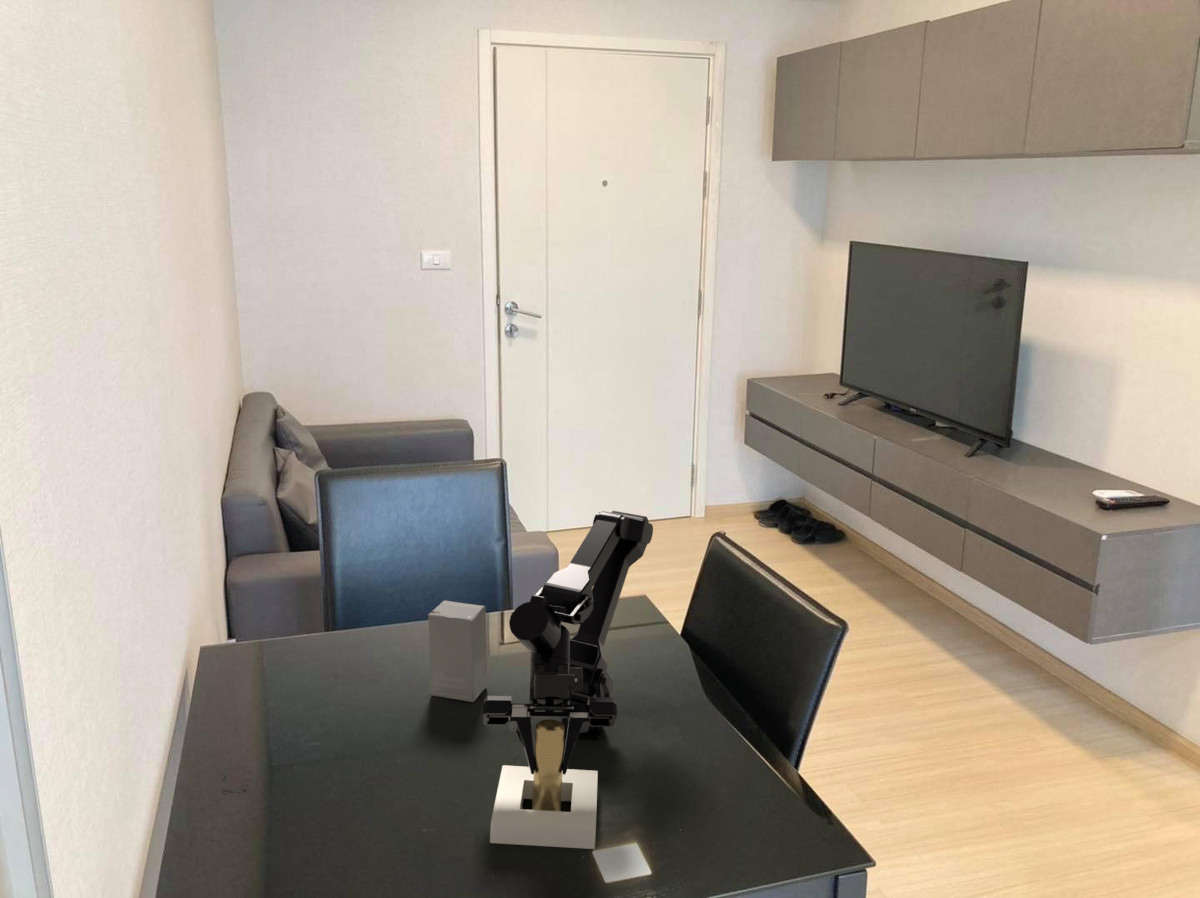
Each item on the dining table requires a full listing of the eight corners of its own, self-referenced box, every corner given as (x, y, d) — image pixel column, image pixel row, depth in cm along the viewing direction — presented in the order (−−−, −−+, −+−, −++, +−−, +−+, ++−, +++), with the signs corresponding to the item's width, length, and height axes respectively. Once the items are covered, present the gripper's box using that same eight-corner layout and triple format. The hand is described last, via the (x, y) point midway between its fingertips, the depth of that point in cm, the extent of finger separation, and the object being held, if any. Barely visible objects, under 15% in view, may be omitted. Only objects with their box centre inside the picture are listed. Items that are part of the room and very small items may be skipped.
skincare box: (487, 687, 172) (490, 604, 168) (471, 706, 165) (473, 619, 161) (443, 679, 174) (445, 596, 170) (426, 697, 167) (427, 611, 164)
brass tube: (530, 818, 135) (534, 733, 131) (533, 801, 138) (536, 718, 135) (559, 819, 135) (564, 735, 131) (561, 802, 138) (565, 720, 135)
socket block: (490, 842, 130) (490, 823, 129) (501, 783, 143) (502, 765, 143) (594, 849, 130) (595, 829, 129) (596, 789, 143) (597, 770, 143)
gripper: (485, 643, 134) (479, 758, 126) (619, 645, 136) (622, 760, 128) (486, 669, 144) (480, 778, 135) (611, 671, 145) (613, 779, 137)
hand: (548, 773), depth 134 cm, fingers closed on brass tube, 4 cm apart
